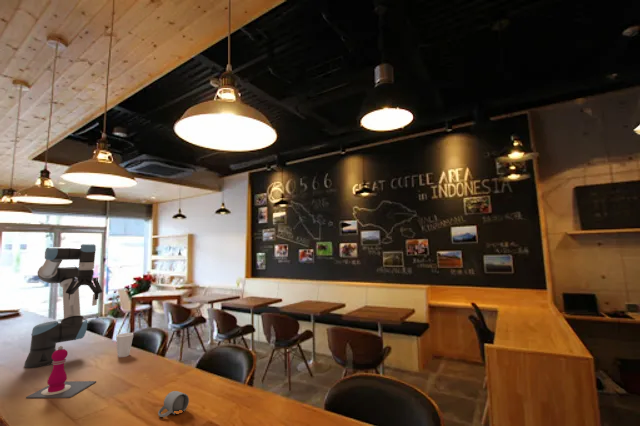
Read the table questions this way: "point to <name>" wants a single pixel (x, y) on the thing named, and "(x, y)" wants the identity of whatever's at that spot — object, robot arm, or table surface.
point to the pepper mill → (58, 371)
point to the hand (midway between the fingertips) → (82, 305)
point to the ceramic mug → (174, 403)
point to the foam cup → (124, 344)
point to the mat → (63, 390)
